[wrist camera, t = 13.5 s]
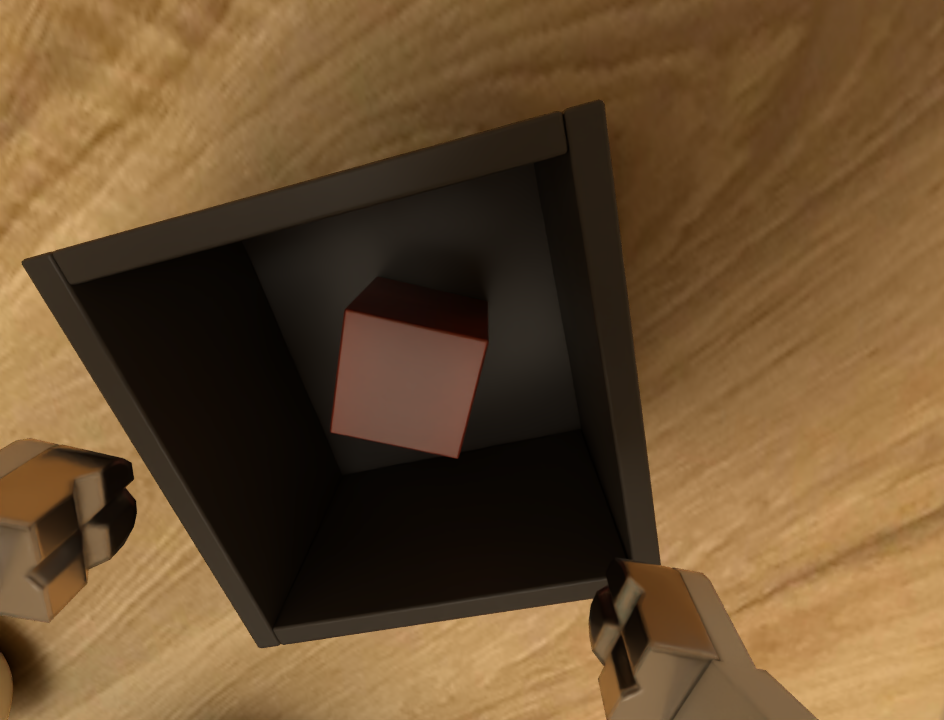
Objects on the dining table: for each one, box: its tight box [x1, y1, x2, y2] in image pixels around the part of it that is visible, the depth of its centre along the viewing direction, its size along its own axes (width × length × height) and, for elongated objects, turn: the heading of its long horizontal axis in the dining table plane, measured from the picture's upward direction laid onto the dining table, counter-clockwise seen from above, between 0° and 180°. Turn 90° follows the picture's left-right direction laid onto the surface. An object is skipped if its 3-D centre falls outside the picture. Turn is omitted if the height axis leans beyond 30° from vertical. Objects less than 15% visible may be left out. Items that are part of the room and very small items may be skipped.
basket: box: [22, 100, 661, 648], centre depth 14 cm, size 11×11×8 cm
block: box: [330, 277, 489, 459], centre depth 15 cm, size 4×4×4 cm
